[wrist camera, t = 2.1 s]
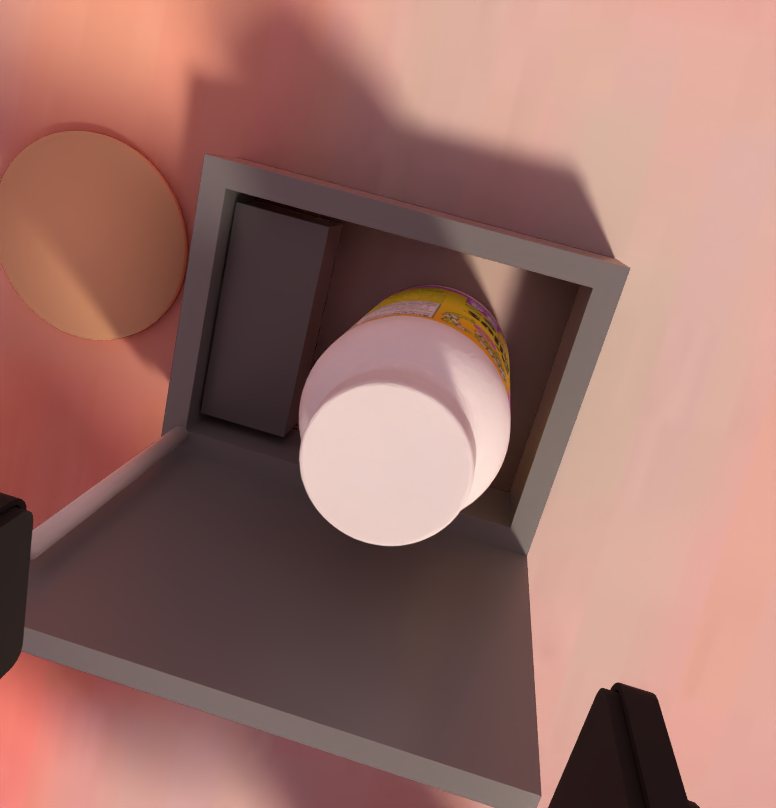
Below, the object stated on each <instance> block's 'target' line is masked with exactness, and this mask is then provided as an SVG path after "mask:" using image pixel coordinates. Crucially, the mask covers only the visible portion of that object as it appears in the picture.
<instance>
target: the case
mask: <svg viewBox="0 0 776 808" xmlns="http://www.w3.org/2000/svg"><path fill="white" fill-rule="evenodd" d="M255 196H256V197H260V198H263V199H267V200H271V201H274V202H278V203H282V204H285V205H289V206H293V207H296V208H300V209H304V210H307V211H311V212H315V213H318V214H322V215H326V216H330V217H333V218H337V219H341V220H344V221H348V222H352V223H355V224H359V225H363V226H366V227H370V228H374V229H377V230H381V231H385V232H389V233H392V234H396V235H400V236H403V237H407V238H411V239H414V240H418V241H422V242H425V243H429V244H433V245H436V246H440V247H444V248H447V249H451V250H455V251H459V252H462V253H466V254H470V255H473V256H477V257H481V258H484V259H488V260H492V261H495V262H499V263H503V264H506V265H510V266H514V267H517V268H521V269H525V270H529V271H532V272H536V273H540V274H543V275H547V276H551V277H554V278H558V279H562V280H565V281H569V282H573V283H576V284H580V286H579V289H578V292H577V295H576V298H575V301H574V304H573V307H572V310H571V313H570V316H569V319H568V322H567V325H566V328H565V331H564V334H563V337H562V340H561V343H560V346H559V348H558V351H557V354H556V357H555V360H554V363H553V366H552V369H551V372H550V375H549V378H548V381H547V384H546V387H545V390H544V393H543V396H542V399H541V402H540V405H539V408H538V411H537V413H536V416H535V419H534V422H533V425H532V428H531V431H530V434H529V437H528V440H527V443H526V446H525V449H524V452H523V455H522V458H521V461H520V464H519V467H518V470H517V473H516V476H515V478H514V481H513V484H512V487H511V490H510V493H509V492H506V491H502V490H499V489H496V488H492V487H488V488H487V489H486V490H485V491H484V492H483V493H482V494H481V495H480V496H479V497H478V498H477V499H476V500H475V501H474V502H472V503H471V504H470V505H468V506H467V507H465V508H464V509H462V510H461V511H460V512H459V514H458V515H457V516H456V517H455V518H454V520H453V521H452V522H451V523H450V524H448V525H447V526H446V527H445V528H443V529H442V530H441V531H439V532H438V533H436V534H435V535H433V536H431V537H428V538H426V539H424V540H422V541H419V542H415V543H412V544H406V545H401V546H382V545H376V544H370V543H367V542H363V541H360V540H357V539H354V538H352V537H350V536H349V535H347V534H345V533H343V532H342V531H340V530H338V529H337V528H335V527H334V526H333V525H332V524H330V523H329V522H328V521H327V520H326V519H325V518H324V517H323V516H322V515H321V514H320V513H319V511H318V510H317V509H316V507H315V506H314V505H313V503H312V501H311V500H310V498H309V496H308V494H307V492H306V489H305V487H304V484H303V481H302V478H301V472H300V463H299V453H300V445H301V437H300V430H296V429H293V427H294V425H295V424H296V423H297V422H298V421H299V407H300V400H301V395H302V391H303V389H304V386H305V383H306V380H307V378H308V376H309V374H310V370H311V365H312V361H313V356H314V352H315V347H316V343H317V338H318V334H319V329H320V324H321V320H322V315H323V311H324V306H325V302H326V297H327V293H328V288H329V284H330V279H331V275H332V270H333V266H334V261H335V257H336V252H337V248H338V243H339V239H340V234H341V230H342V225H343V224H340V223H336V222H332V221H329V220H325V219H321V218H318V217H314V216H310V215H307V214H303V213H299V212H296V211H292V210H288V209H285V208H281V207H277V206H274V205H270V204H266V203H262V202H259V201H255ZM629 270H630V268H629V267H628V266H626V265H625V264H623V263H621V262H620V261H618V260H617V259H614V258H611V257H607V256H603V255H600V254H596V253H592V252H588V251H585V250H581V249H577V248H573V247H570V246H566V245H562V244H558V243H555V242H551V241H547V240H543V239H540V238H536V237H532V236H529V235H525V234H521V233H517V232H514V231H510V230H506V229H502V228H499V227H495V226H491V225H487V224H484V223H480V222H476V221H472V220H469V219H465V218H461V217H458V216H454V215H450V214H446V213H443V212H439V211H435V210H431V209H428V208H424V207H420V206H416V205H413V204H409V203H405V202H401V201H398V200H394V199H390V198H387V197H383V196H379V195H375V194H372V193H368V192H364V191H360V190H357V189H353V188H349V187H345V186H342V185H338V184H334V183H330V182H327V181H323V180H319V179H316V178H312V177H308V176H304V175H301V174H297V173H293V172H289V171H286V170H282V169H278V168H274V167H271V166H267V165H263V164H259V163H256V162H252V161H248V160H245V159H241V158H235V157H227V156H218V155H209V154H205V155H204V162H203V168H202V175H201V181H200V188H199V194H198V201H197V207H196V214H195V220H194V227H193V233H192V240H191V246H190V253H189V259H188V266H187V272H186V279H185V285H184V292H183V298H182V305H181V312H180V318H179V325H178V331H177V338H176V344H175V351H174V357H173V364H172V370H171V377H170V383H169V390H168V396H167V403H166V409H165V416H164V422H163V429H162V435H161V438H159V439H158V440H157V441H155V442H154V443H152V444H151V445H150V446H148V447H147V448H145V449H144V450H143V451H141V452H140V453H139V454H137V455H136V456H134V457H133V458H132V459H130V460H129V461H127V462H126V463H125V464H123V465H122V466H121V467H119V468H118V469H116V470H115V471H114V472H112V473H111V474H110V475H108V476H107V477H105V478H104V479H103V480H101V481H100V482H98V483H97V484H96V485H94V486H93V487H92V488H90V489H89V490H87V491H86V492H85V493H83V494H82V495H80V496H79V497H78V498H76V499H75V500H74V501H72V502H71V503H69V504H68V505H67V506H65V507H64V508H63V509H61V510H60V511H58V512H57V513H56V514H54V515H53V516H51V517H50V518H49V519H47V520H46V521H45V522H43V523H42V524H40V525H39V526H38V527H36V528H35V529H33V530H32V541H31V553H30V565H29V577H28V589H27V601H26V613H25V625H24V637H23V646H22V650H21V651H22V652H25V653H28V654H31V655H34V656H37V657H40V658H43V659H46V660H49V661H52V662H55V663H58V664H61V665H64V666H67V667H70V668H73V669H76V670H79V671H83V672H86V673H89V674H92V675H95V676H98V677H101V678H104V679H107V680H110V681H113V682H116V683H119V684H122V685H125V686H128V687H131V688H134V689H137V690H140V691H143V692H146V693H149V694H152V695H155V696H158V697H161V698H164V699H167V700H170V701H173V702H176V703H179V704H182V705H185V706H188V707H192V708H195V709H198V710H201V711H204V712H207V713H210V714H213V715H216V716H219V717H222V718H225V719H228V720H231V721H234V722H237V723H240V724H243V725H246V726H249V727H252V728H255V729H258V730H261V731H264V732H267V733H270V734H273V735H276V736H279V737H282V738H285V739H288V740H291V741H294V742H298V743H301V744H304V745H307V746H310V747H313V748H316V749H319V750H322V751H325V752H328V753H331V754H334V755H337V756H340V757H343V758H346V759H349V760H352V761H355V762H358V763H361V764H364V765H367V766H370V767H373V768H376V769H379V770H382V771H385V772H388V773H391V774H394V775H397V776H400V777H403V778H407V779H410V780H413V781H416V782H419V783H422V784H425V785H428V786H431V787H434V788H437V789H440V790H443V791H446V792H449V793H452V794H455V795H458V796H461V797H464V798H467V799H470V800H473V801H476V802H479V803H482V804H485V805H488V806H491V807H494V808H537V806H538V803H539V801H540V798H541V781H540V764H539V748H538V731H537V715H536V698H535V682H534V665H533V649H532V633H531V616H530V600H529V583H528V567H527V554H528V552H529V549H530V546H531V543H532V541H533V538H534V535H535V532H536V529H537V527H538V524H539V521H540V518H541V515H542V513H543V510H544V507H545V504H546V502H547V499H548V496H549V493H550V490H551V488H552V485H553V482H554V479H555V476H556V474H557V471H558V468H559V465H560V463H561V460H562V457H563V454H564V451H565V449H566V446H567V443H568V440H569V437H570V435H571V432H572V429H573V426H574V424H575V421H576V418H577V415H578V412H579V410H580V407H581V404H582V401H583V399H584V396H585V393H586V390H587V387H588V385H589V382H590V379H591V376H592V373H593V371H594V368H595V365H596V362H597V360H598V357H599V354H600V351H601V348H602V346H603V343H604V340H605V337H606V334H607V332H608V329H609V326H610V323H611V321H612V318H613V315H614V312H615V309H616V307H617V304H618V301H619V298H620V295H621V293H622V290H623V287H624V284H625V282H626V279H627V276H628V273H629Z"/></svg>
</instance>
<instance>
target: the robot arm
mask: <svg viewBox="0 0 776 808" xmlns="http://www.w3.org/2000/svg"><path fill="white" fill-rule="evenodd" d="M32 529H33V515H32V513H31V512H30V511H27V510H26V504H25V502H24V501H23V500H22V499H19V498H16V497H13V496H10V495H6V494H3V493H0V679H1V678H2V677H3V676H4V675H5V674H6V673H7V672H8V671H9V670H10V669H11V668H12V666H13V665H14V664H15V662H16V661H17V659H18V657H19V655H20V653H21V650H22V646H23V637H24V625H25V613H26V601H27V589H28V577H29V565H30V553H31V541H32ZM548 808H700V807H699V806H698V805H697V804H696V803H695V802H692V801H689V800H688V799H687V796H686V793H685V789H684V786H683V783H682V779H681V776H680V773H679V769H678V766H677V762H676V759H675V756H674V752H673V749H672V746H671V742H670V739H669V736H668V732H667V729H666V726H665V722H664V719H663V715H662V712H661V709H660V705H659V702H658V699H657V697H656V695H655V694H653V693H651V692H648V691H644V690H641V689H638V688H635V687H631V686H628V685H625V684H622V683H615V684H614V685H613V686H612V688H611V690H608V689H605V688H601V689H600V690H599V691H598V693H597V695H596V697H595V699H594V702H593V704H592V706H591V709H590V711H589V713H588V716H587V718H586V720H585V723H584V725H583V727H582V730H581V732H580V734H579V737H578V739H577V741H576V744H575V746H574V748H573V751H572V753H571V755H570V758H569V760H568V762H567V765H566V767H565V770H564V772H563V774H562V777H561V779H560V781H559V784H558V786H557V788H556V791H555V793H554V795H553V798H552V800H551V802H550V805H549V807H548Z"/></svg>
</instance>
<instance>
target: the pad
mask: <svg viewBox="0 0 776 808" xmlns="http://www.w3.org/2000/svg"><path fill="white" fill-rule="evenodd" d="M187 257H188V240H187V233H186V226H185V222H184V218H183V215H182V211H181V209H180V206H179V204H178V201H177V199H176V197H175V195H174V193H173V191H172V190H171V188H170V186H169V184H168V183H167V181H166V180H165V179H164V177H163V176H162V174H161V173H160V172H159V171H158V170H157V169H156V167H155V166H154V165H153V164H152V163H151V162H150V161H149V160H148V159H147V158H145V157H144V156H143V155H142V154H141V153H140V152H138V151H137V150H135V149H134V148H132V147H131V146H129V145H128V144H126V143H124V142H122V141H120V140H118V139H115V138H112V137H110V136H107V135H104V134H99V133H94V132H88V131H64V132H58V133H54V134H50V135H47V136H45V137H43V138H40V139H38V140H36V141H35V142H33V143H32V144H30V145H28V146H27V147H26V148H25V149H23V150H22V151H21V152H20V153H19V154H18V155H17V156H16V157H15V159H14V160H13V161H12V162H11V164H10V165H9V166H8V168H7V170H6V172H5V173H4V175H3V177H2V180H1V182H0V261H1V264H2V267H3V269H4V271H5V273H6V275H7V277H8V279H9V281H10V283H11V284H12V286H13V288H14V289H15V291H16V292H17V293H18V295H19V296H20V297H21V299H22V300H23V301H24V302H25V303H26V304H27V305H28V306H29V308H30V309H31V310H32V311H33V312H35V313H36V314H37V315H38V316H39V317H41V318H42V319H43V320H44V321H46V322H47V323H49V324H50V325H52V326H53V327H55V328H57V329H59V330H61V331H63V332H65V333H68V334H71V335H73V336H76V337H80V338H85V339H90V340H114V339H119V338H124V337H127V336H130V335H132V334H135V333H138V332H140V331H142V330H144V329H146V328H147V327H149V326H151V325H152V324H153V323H155V322H156V321H157V320H159V319H160V318H161V317H162V316H163V314H164V313H165V312H166V311H167V310H168V309H169V307H170V306H171V305H172V303H173V302H174V300H175V298H176V296H177V295H178V293H179V291H180V288H181V285H182V283H183V280H184V276H185V272H186V267H187Z"/></svg>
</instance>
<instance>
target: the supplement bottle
mask: <svg viewBox="0 0 776 808" xmlns="http://www.w3.org/2000/svg"><path fill="white" fill-rule="evenodd" d="M510 421H511V416H510V364H509V353H508V348H507V343H506V340H505V337H504V334H503V332H502V330H501V328H500V326H499V324H498V323H497V321H496V320H495V318H494V317H493V315H492V314H491V313H490V312H489V311H488V310H487V309H486V308H485V307H484V306H483V305H482V304H481V303H480V302H478V301H477V300H476V299H474V298H473V297H471V296H469V295H467V294H466V293H464V292H462V291H459V290H456V289H454V288H450V287H445V286H439V285H422V286H415V287H411V288H407V289H404V290H401V291H399V292H396V293H394V294H392V295H390V296H389V297H387V298H386V299H384V300H383V301H381V302H380V303H379V304H378V305H376V306H375V307H374V308H373V309H372V310H370V311H369V312H368V313H367V314H366V315H365V316H364V317H362V318H361V319H360V320H359V321H358V322H357V323H356V324H355V325H354V326H352V327H351V328H350V329H349V330H348V331H347V332H345V333H344V334H343V335H342V336H341V337H339V338H338V339H337V340H336V341H335V342H334V343H333V344H332V345H331V346H330V347H329V348H328V349H327V350H326V351H325V352H324V353H323V354H322V355H321V356H320V358H319V359H318V360H317V362H316V363H315V365H314V367H313V368H312V370H311V372H310V374H309V376H308V378H307V380H306V383H305V386H304V389H303V391H302V395H301V400H300V407H299V430H300V437H301V445H300V453H299V463H300V472H301V478H302V481H303V484H304V487H305V489H306V492H307V494H308V496H309V498H310V500H311V501H312V503H313V505H314V506H315V507H316V509H317V510H318V511H319V513H320V514H321V515H322V516H323V517H324V518H325V519H326V520H327V521H328V522H329V523H330V524H332V525H333V526H334V527H335V528H337V529H338V530H340V531H342V532H343V533H345V534H347V535H349V536H350V537H352V538H354V539H357V540H360V541H363V542H367V543H370V544H376V545H382V546H401V545H406V544H412V543H415V542H419V541H422V540H424V539H426V538H428V537H431V536H433V535H435V534H436V533H438V532H439V531H441V530H442V529H443V528H445V527H446V526H447V525H448V524H450V523H451V522H452V521H453V520H454V518H455V517H456V516H457V515H458V514H459V512H460V511H461V510H462V509H464V508H465V507H467V506H468V505H470V504H471V503H472V502H474V501H475V500H476V499H477V498H478V497H479V496H480V495H481V494H482V493H483V492H484V491H485V490H486V489H487V488H488V487H489V485H490V484H491V482H492V481H493V480H494V478H495V477H496V475H497V473H498V472H499V470H500V468H501V466H502V463H503V461H504V458H505V455H506V452H507V448H508V444H509V438H510Z"/></svg>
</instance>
